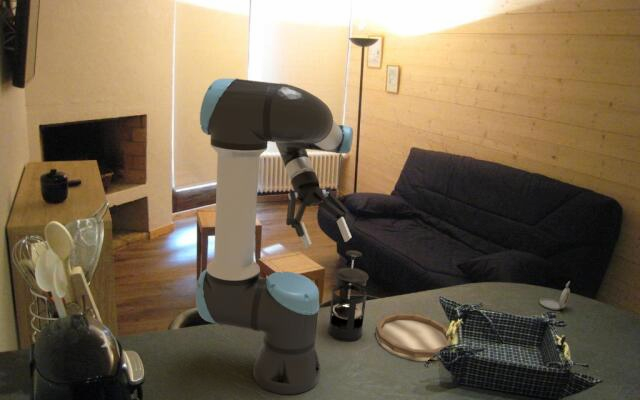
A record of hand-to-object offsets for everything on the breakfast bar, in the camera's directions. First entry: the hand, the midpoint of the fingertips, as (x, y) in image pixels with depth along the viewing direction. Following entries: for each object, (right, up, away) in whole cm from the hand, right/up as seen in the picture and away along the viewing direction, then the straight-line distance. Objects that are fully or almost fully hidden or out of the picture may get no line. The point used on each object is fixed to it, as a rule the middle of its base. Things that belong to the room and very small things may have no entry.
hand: (328, 243), depth 143 cm
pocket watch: (+72, -23, +24) cm, 79 cm away
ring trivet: (+22, -26, -3) cm, 34 cm away
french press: (+4, -24, -2) cm, 24 cm away
